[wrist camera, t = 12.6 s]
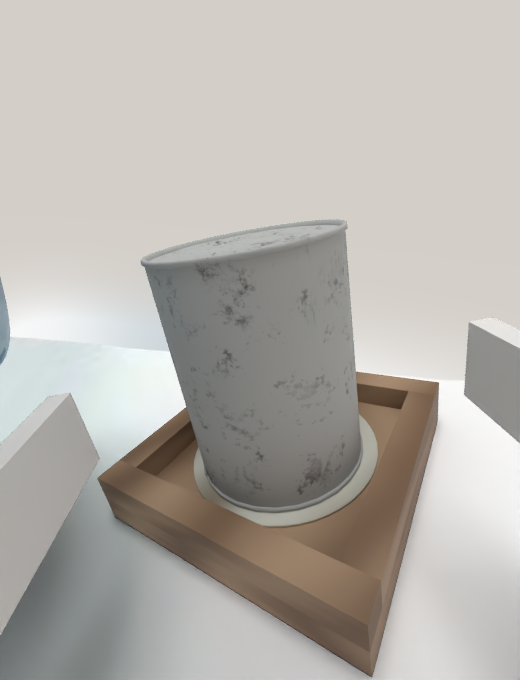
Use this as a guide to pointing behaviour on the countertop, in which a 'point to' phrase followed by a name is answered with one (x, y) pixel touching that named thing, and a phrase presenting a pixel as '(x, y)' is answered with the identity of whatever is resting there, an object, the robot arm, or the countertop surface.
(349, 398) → the speckled white cylinder
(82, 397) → the countertop surface
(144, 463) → the walnut seat tray
